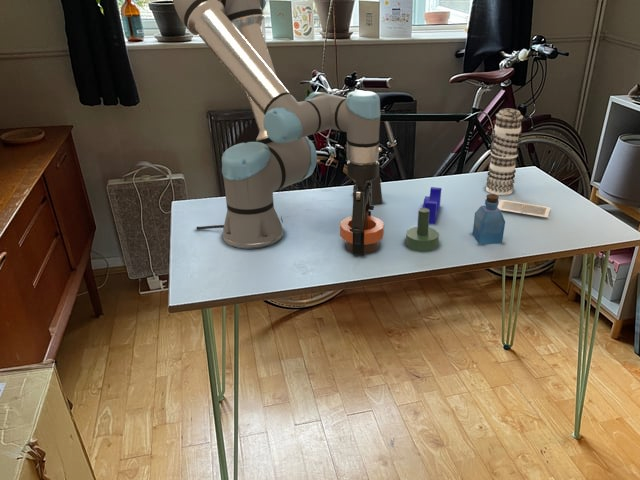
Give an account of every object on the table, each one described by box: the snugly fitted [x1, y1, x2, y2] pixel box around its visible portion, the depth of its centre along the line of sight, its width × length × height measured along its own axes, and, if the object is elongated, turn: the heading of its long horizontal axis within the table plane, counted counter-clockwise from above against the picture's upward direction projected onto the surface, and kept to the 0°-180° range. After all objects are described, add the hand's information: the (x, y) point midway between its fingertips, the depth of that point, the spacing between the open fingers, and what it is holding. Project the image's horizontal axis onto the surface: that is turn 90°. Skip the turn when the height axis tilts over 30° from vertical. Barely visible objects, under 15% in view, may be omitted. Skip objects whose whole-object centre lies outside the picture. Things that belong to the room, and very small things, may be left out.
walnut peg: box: [345, 210, 380, 255], centre depth 147 cm, size 8×8×10 cm
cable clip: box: [422, 186, 442, 225], centre depth 166 cm, size 12×4×6 cm, turn 168°
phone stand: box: [371, 159, 383, 205], centre depth 172 cm, size 9×6×12 cm, turn 19°
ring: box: [339, 215, 385, 245], centre depth 147 cm, size 11×11×3 cm
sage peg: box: [405, 207, 440, 252], centre depth 149 cm, size 8×8×10 cm
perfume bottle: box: [472, 193, 506, 245], centre depth 152 cm, size 6×6×12 cm
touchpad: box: [497, 198, 552, 218], centre depth 170 cm, size 8×15×2 cm, turn 70°
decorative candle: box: [485, 107, 524, 196], centre depth 178 cm, size 9×9×25 cm
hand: (361, 243), depth 149 cm, fingers closed on ring, 11 cm apart
